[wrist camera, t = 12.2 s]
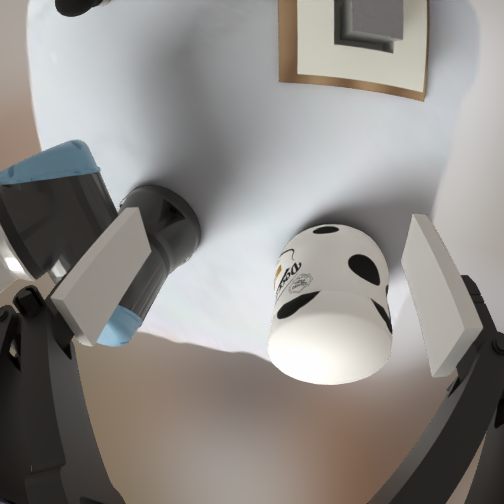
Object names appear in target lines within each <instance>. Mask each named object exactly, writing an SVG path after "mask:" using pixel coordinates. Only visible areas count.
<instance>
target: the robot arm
mask: <svg viewBox="0 0 504 504" xmlns="http://www.w3.org/2000/svg"><path fill="white" fill-rule="evenodd" d="M100 171H101V170H100V167H98V166H97V165H96V163H95V160H94V158H93V156H92V154H91V152H90V149H89V147H88V146H87V144H86V143H85V142H83V141H81V140H71V141H68V142H65V143H62V144H60V145H57V146H55V147H52V148H50V149H47V150H45V151H43V152H40V153H38V154H36V155H33V156H31V157H29V158H27V159H25V160H23V161H21V162H19V163H17V164H15V165H12V166H11V167H9V168H7V169H4V170H2V171H1V172H0V293H1V292H2V291H3V290H4V289H6V288H7V287H8V286H9V285H10V284H11V283H13V282H14V281H15V280H16V279H25V280H30V281H36V280H37V279H38V278H39V277H41V276H42V275H43V274H45V273H46V272H48V274H49V275H50V277H51V279H52V280H53V281H54V283H55V285H56V286H55V287H54V288H53V290H52V291H51V293H50V294H49V295H48V296H47V298H46V299H45V300H44V299H43V297H42V296H41V294H40V292H39V291H38V289H37V287H35V286H34V285H29V286H26V287H24V288H23V289H21V290H20V291H19V292H18V293H17V294H16V296H15V297H14V299H13V303H14V305H15V306H16V308H17V309H18V311H19V312H20V313H16V312H15V310H14V309H13V307H12V306H10V305H5V306H3V307H1V308H0V504H126V503H125V501H124V500H123V498H122V496H121V495H120V494H119V492H118V491H117V490H116V489H115V488H114V487H113V485H112V484H111V482H110V480H109V477H108V475H107V472H106V469H105V467H104V464H103V461H102V458H101V455H100V452H99V449H98V446H97V443H96V440H95V436H94V433H93V429H92V426H91V423H90V419H89V415H88V411H87V407H86V403H85V399H84V394H83V390H82V386H81V381H80V376H79V370H78V365H77V360H76V353H75V347H74V344H73V342H72V341H71V339H72V338H73V336H74V335H75V337H76V338H77V339H78V341H79V342H80V344H83V345H87V346H91V347H94V345H95V343H96V342H97V343H100V344H103V345H107V346H115V347H116V346H122V345H125V344H127V343H128V342H129V341H130V340H131V339H132V337H133V336H134V334H135V333H136V331H137V330H138V328H139V327H141V325H142V323H143V321H144V319H145V317H146V315H147V313H148V311H149V309H150V307H151V305H152V304H153V302H154V300H155V298H156V296H157V294H158V292H159V291H160V289H161V287H162V285H163V283H164V281H165V280H166V278H167V276H168V275H169V274H170V273H171V272H173V271H174V270H175V269H176V268H177V267H178V266H180V265H182V264H184V263H185V262H186V261H188V260H189V259H190V257H191V256H192V255H193V253H194V251H195V249H196V248H197V246H198V243H199V240H200V227H199V223H198V220H197V217H196V215H195V213H194V212H193V210H192V209H191V207H190V206H189V205H188V204H187V203H186V201H185V200H183V199H182V198H181V197H180V196H179V195H177V194H176V193H174V192H172V191H170V190H168V189H166V188H163V187H160V186H153V185H147V186H141V187H138V188H136V189H134V190H133V191H131V192H130V193H129V194H128V195H127V196H126V197H125V198H124V199H123V200H122V201H121V203H120V204H119V206H118V209H117V211H116V208H115V206H114V204H113V202H112V199H111V197H110V195H109V193H108V190H107V188H106V186H105V183H104V181H103V179H102V176H101V174H100ZM401 264H402V267H403V270H404V273H405V276H406V279H407V282H408V285H409V288H410V291H411V295H412V298H413V301H414V305H415V308H416V312H417V315H418V319H419V323H420V327H421V331H422V334H423V338H424V342H425V347H426V351H427V356H428V360H429V365H430V370H431V374H432V377H442V376H449V375H450V374H451V373H452V372H453V370H454V369H455V368H457V372H458V377H457V378H456V379H455V380H454V381H453V383H452V384H451V385H450V386H449V387H448V388H447V391H448V393H447V395H446V397H445V399H444V400H443V402H442V404H441V405H440V407H439V409H438V410H437V412H436V414H435V415H434V417H433V419H432V420H431V422H430V423H429V425H428V427H427V428H426V430H425V431H424V433H423V434H422V436H421V437H420V438H419V440H418V442H417V443H416V444H415V446H414V447H413V448H412V450H411V451H410V453H409V454H408V455H407V457H406V458H405V459H404V461H403V462H402V463H401V464H400V466H399V467H398V468H397V470H396V471H395V472H394V473H393V475H392V476H391V477H390V478H389V479H388V481H387V482H386V483H385V484H384V485H383V486H382V488H381V489H380V490H379V491H378V492H377V493H376V494H375V496H374V497H373V498H372V499H371V500H370V501H369V502H368V503H367V504H446V502H447V501H448V499H449V498H450V496H451V494H452V493H453V492H454V490H455V488H456V487H457V485H458V483H459V482H460V480H461V478H462V477H463V475H464V473H465V472H466V470H467V468H468V467H469V465H470V463H471V461H472V459H473V457H474V456H475V453H476V452H477V449H478V448H479V446H480V444H481V442H482V440H483V438H484V435H485V433H486V431H487V433H486V437H485V441H484V445H483V449H482V453H481V456H480V460H479V463H478V466H477V470H476V473H475V476H474V479H473V482H472V485H471V487H470V490H469V493H468V496H467V498H466V501H465V503H464V504H504V334H503V333H501V332H497V330H496V327H495V325H494V322H493V320H492V318H491V315H490V313H489V311H488V309H487V306H486V304H484V300H483V298H482V296H481V293H480V291H479V289H478V287H477V286H476V284H475V283H474V281H473V280H472V279H471V278H470V277H469V276H468V275H460V274H459V271H458V269H457V267H456V266H455V264H454V262H453V260H452V258H451V256H450V254H449V252H448V250H447V248H446V247H445V245H444V243H443V241H442V239H441V238H440V236H439V234H438V232H437V231H436V229H435V227H434V225H433V224H432V222H431V220H430V219H429V217H428V215H425V214H412V219H411V223H410V228H409V232H408V236H407V240H406V244H405V248H404V252H403V255H402V259H401ZM10 347H12V348H13V350H14V351H15V352H16V354H15V357H13V356H12V355H11V354H10V352H9V351H10ZM31 466H32V472H31Z"/></svg>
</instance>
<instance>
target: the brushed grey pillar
mask: <svg viewBox="0 0 504 504" xmlns="http://www.w3.org/2000/svg"><path fill="white" fill-rule="evenodd" d="M340 40H347V41H355V42H361V43H368V44H374V45H375V44H381V43H387V42H393V41H400V40H403V0H344V2H343V4H342V6H341V8H340Z"/></svg>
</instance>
